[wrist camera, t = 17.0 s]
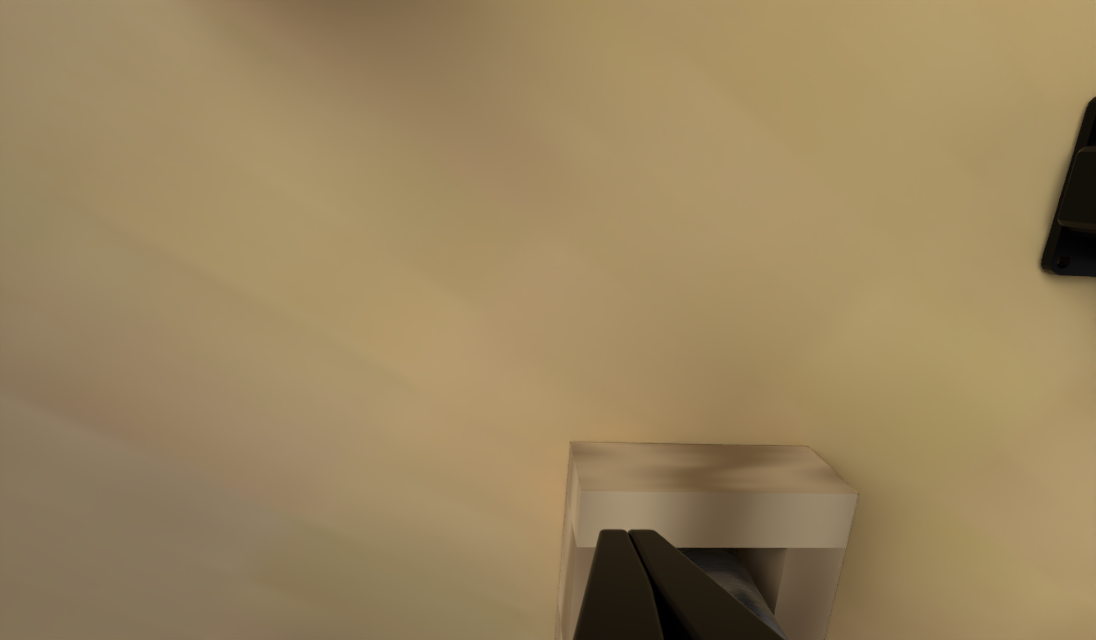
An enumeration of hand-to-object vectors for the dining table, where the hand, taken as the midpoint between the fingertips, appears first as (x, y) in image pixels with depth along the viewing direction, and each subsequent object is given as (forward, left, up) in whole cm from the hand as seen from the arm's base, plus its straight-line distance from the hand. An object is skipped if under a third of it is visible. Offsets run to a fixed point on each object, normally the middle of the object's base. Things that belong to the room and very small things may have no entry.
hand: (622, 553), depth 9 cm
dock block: (-6, +10, -13) cm, 17 cm away
